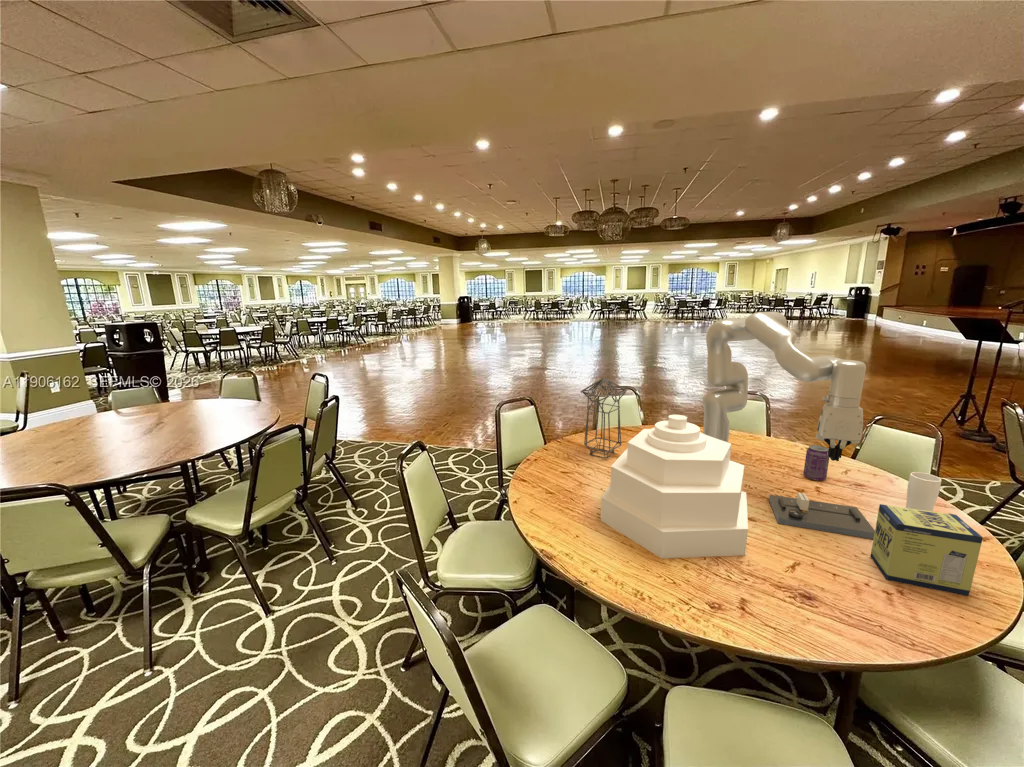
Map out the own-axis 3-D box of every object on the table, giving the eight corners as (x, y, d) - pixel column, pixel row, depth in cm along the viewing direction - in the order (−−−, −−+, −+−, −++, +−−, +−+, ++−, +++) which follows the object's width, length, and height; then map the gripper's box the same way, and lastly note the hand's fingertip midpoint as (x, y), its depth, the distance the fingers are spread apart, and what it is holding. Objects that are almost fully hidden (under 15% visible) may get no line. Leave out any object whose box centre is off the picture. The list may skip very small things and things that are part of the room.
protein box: (868, 556, 110) (878, 503, 107) (945, 569, 104) (958, 514, 101) (885, 580, 101) (896, 523, 98) (970, 597, 95) (985, 536, 92)
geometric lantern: (626, 453, 184) (629, 377, 176) (608, 465, 173) (611, 384, 165) (595, 444, 195) (597, 372, 186) (576, 455, 184) (578, 379, 175)
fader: (800, 509, 130) (801, 499, 129) (796, 502, 134) (797, 492, 133) (807, 510, 129) (809, 500, 128) (803, 503, 133) (805, 493, 133)
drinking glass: (923, 518, 128) (933, 473, 125) (937, 529, 122) (947, 482, 119) (896, 514, 130) (905, 470, 127) (908, 525, 124) (918, 479, 121)
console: (777, 523, 126) (779, 513, 126) (768, 499, 141) (769, 491, 140) (876, 539, 117) (878, 529, 117) (855, 512, 132) (857, 503, 131)
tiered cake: (641, 475, 162) (646, 392, 154) (772, 517, 130) (785, 416, 123) (573, 518, 132) (575, 418, 125) (722, 586, 100) (735, 457, 93)
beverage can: (818, 473, 160) (822, 444, 158) (830, 482, 153) (835, 451, 151) (799, 473, 161) (803, 444, 158) (810, 481, 154) (814, 451, 151)
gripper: (816, 402, 122) (807, 460, 126) (880, 407, 116) (869, 467, 120) (810, 396, 129) (801, 451, 133) (869, 400, 123) (859, 458, 127)
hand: (833, 459), depth 126 cm, fingers closed
